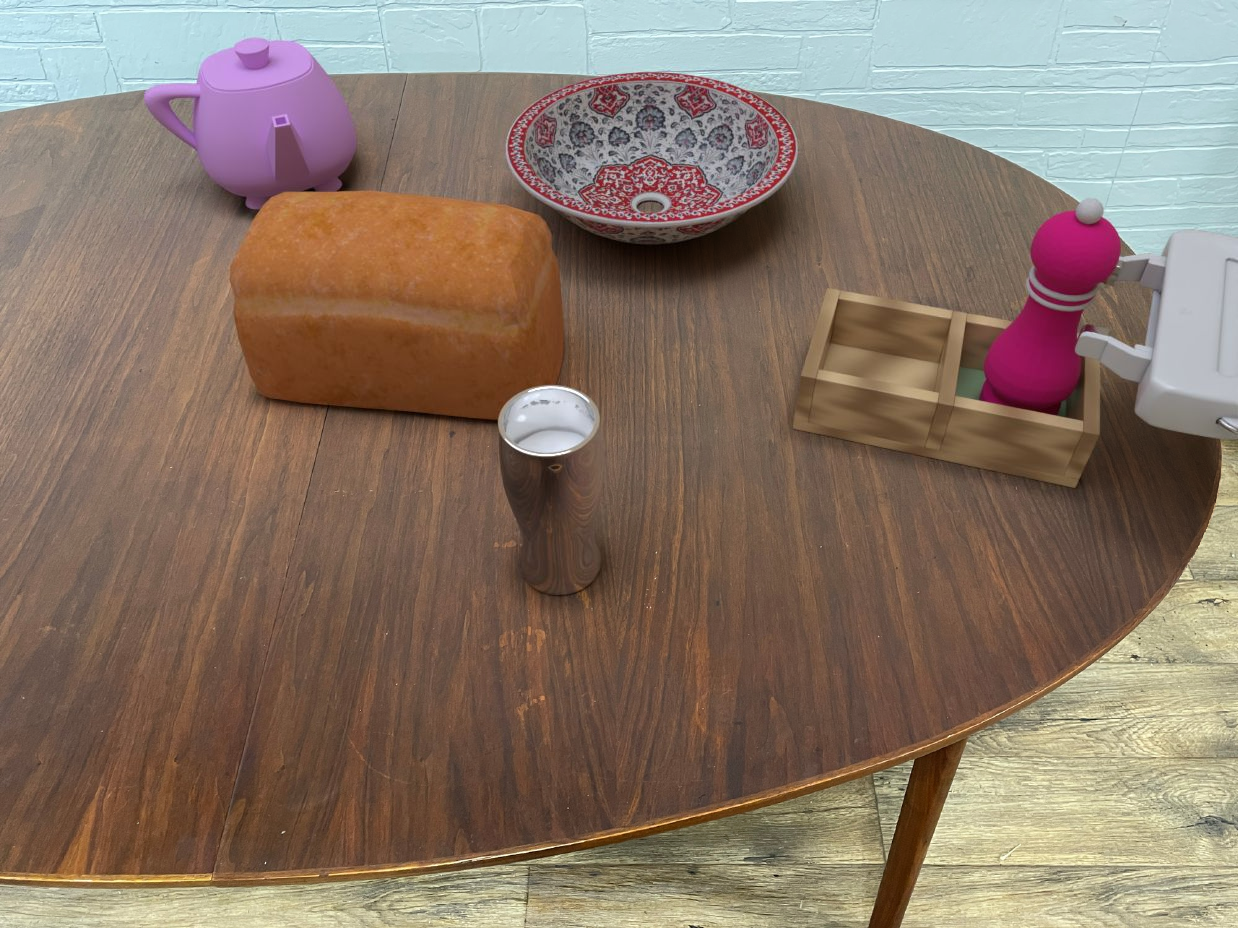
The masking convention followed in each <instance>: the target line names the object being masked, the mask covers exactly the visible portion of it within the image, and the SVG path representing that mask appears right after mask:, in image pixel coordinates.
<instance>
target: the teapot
mask: <svg viewBox="0 0 1238 928" xmlns="http://www.w3.org/2000/svg"><path fill="white" fill-rule="evenodd" d="M187 98H188V99H193V104H192V131H193V132H192V131H191V129H189V127H187V126H186V125H185V124H184V122H182V121H181V119H180V118H179V117H178V115H176V113H175V112H174V110H173V108H171V105H170V101H172V100H176V99H187ZM143 102H144V103H145V106H146V108H147V110H148V111H149V113H150V114H151V116H152V117H153V118H154V119H155V120H156V121H157V122H158V123H159V124H160V125H161V126H162V127H164V128H165V129H166V130H167V131H169V132H170V133H171V134H173V135H174V136H175V137H177V138H178V139H180V140H181V141H182V142H184V143H185V144H186V145H188V146H189V147H191V148H192V149H194V150H195V151H196V153H197V156H198V160H199V162H200V165H201V166H202V168H203V169H204V171H205V172H206V173H207V175H208V176H209V177H210V178H211V180H213V181H214V182H215V183H216V184H218V185H219V186H220V187H221V188H223V189H224V190H226V191H228V192H229V193H231V194H233V195H236V196H239V197H246V199H245V206H246V207H247V208H249V209H251V210H260V209H261V208H262V206H263V205H264V204H265V203H266V202H267V201H268V200H269V199H270V198H271V197H273V196H276V195H278V194H280V193H283V192H304V191H307V190H310V189H313V190H314V191H315V192H338V191H339V190H340V189H341V188H342V186H343V183H342V180H341V179H339V176H341V175H342V174H343V173H344V172H345V171H346V170H347V169H348V167H349V166H350V164H351V162H352V160H353V158H354V156H355V153H356V150H357V147H358V136H357V130H356V127H355V123H354V122H355V121H354V120H353V117H352V114H351V112H350V110H349V107H348V105H347V103H346V101H345V98H344V96H343V95H342V93H341V92H340V89H339V88H338V87H337V85H336V83H335V82H334V80H332V78H331V77H330V75H329V74H328V72H327V71H326V70H325V69H324V68H323V66H322V65H321V64H320V63H319V62H318V60H317V59H316V58H315V56H314V55H312V54H311V52H310V51H309V50H308V49H307V48H306V47H305V46H304V45H302V44H300V43H299V42H296V41H293V40H283V39H282V40H281V39H280V40H267V39H266V38H262V37H249V38H244V39H242V40H239V41H237V42H236V43H235V44H234V45H233V47H229V48H226V49H225V48H224V49H222V50H219V51H218V52H215V53H213V54H210V55H209V56H207V57H206V58H204V60H203V61H202V63H201V64H200V66H199V71H198V75H197V78H196V83H188V82H186V83H185V82H184V83H183V82H177V83H176V82H174V83H163V84H162V83H161V84H156V85H153V86H150V87H149V88H148V89H146V91H145V92H144V95H143Z"/></svg>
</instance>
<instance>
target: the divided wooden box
mask: <svg viewBox="0 0 1238 928" xmlns="http://www.w3.org/2000/svg"><path fill="white" fill-rule="evenodd" d="M1013 321H1014V320H1008V319H1003V318H997V317H991V316H987V315H986V316H985V315H979V314H976V313H975V314H974V313H969V312H964V311H957V310H952V309H946V308H942V307H937V306H936V307H935V306H930V305H924V304H919V303H913V302H908V301H903V300H896V299H891V298H885V297H880V296H874V295H868V294H863V293H857V292H853V291H847V290H841V289H836V288H830V287H827V288H826V290H825V293H824V297H823V300H822V303H821V306H820V310H819V313H818V318H817V320H816V323H815V327H814V330H813V334H812V337H811V340H810V343H809V346H808V350H807V354H806V356H805V360H804V364H803V367H802V369H801V373H800V379H799V385H798V391H797V396H796V397H797V398H796V403H795V411H794V416H793V424H792V429H793V430H798V431H802V432H806V433H811V434H816V435H821V436H826V437H830V438H834V439H838V440H839V439H840V440H845V441H850V442H855V443H859V444H863V445H867V446H874V447H877V448H883V449H887V450H893V451H897V452H902V453H907V454H911V455H916V456H921V457H926V458H931V459H934V460H940V461H945V462H948V463H949V462H950V463H955V464H959V465H963V466H968V467H973V468H979V469H982V470H987V471H991V472H992V471H993V472H997V473H1002V474H1005V475H1006V474H1007V475H1011V476H1016V477H1021V478H1026V479H1031V480H1036V481H1040V482H1044V483H1048V484H1049V483H1050V484H1055V485H1059V486H1062V487H1063V486H1064V487H1069V488H1072V489H1076V487H1077V486H1078V483H1079V482H1080V479H1081V477H1082V474H1083V472H1084V470H1085V468H1086V466H1087V464H1088V461H1089V459H1090V457H1091V456H1092V453H1093V450H1094V448H1095V446H1096V444H1097V442H1098V440H1099V438H1100V435H1101V363H1100V362H1099V360H1095V359H1091V358H1088V357H1084V356H1080V357H1081V369H1080V376H1079V379H1078V383H1077V386H1076V388H1075V390H1074V391H1073V393H1072V394H1071V395H1070V396H1069V397H1068V398H1067V399H1066V400H1064V401H1062V402H1061V407H1060V410H1059V412H1058V415H1057V416H1055V415H1050V414H1045V413H1040V412H1035V411H1030V410H1025V409H1020V408H1015V407H1009V406H1004V405H999V404H994V403H989V402H984V401H979V396H980V393H981V390H982V387H983V384H984V382H985V380H986V377H985V374H984V361H985V358H986V356H987V353H988V351H989V349H990V347H991V345H992V344H993V342H994V341H995V340H996V338H997V337H998V336H999V335H1000V334H1001V333H1002V332H1003V331H1004V330H1005V329H1006V328H1007V327H1008V326H1009V325H1010V324H1011V323H1012V322H1013ZM1079 334H1080V332H1077V339H1078V336H1079Z"/></svg>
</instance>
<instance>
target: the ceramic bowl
mask: <svg viewBox="0 0 1238 928" xmlns="http://www.w3.org/2000/svg"><path fill="white" fill-rule="evenodd" d="M504 147H505V148H504V150H505V151H504V152H505V158H506V163H507V166H508V168H509V171H510V173H511V175H513V177H514V179H515V181H516V182H517V183H518V184H519V185H520V187H522V188H523V189H524V190H525V191H526V192H527V193H529V195H531V196H533V198H535V199H537V200H538V201H539V202H542V203H543V204H545V205H546V206H549V208H550V207H551V208H552V209H553V210H554V211H555V212H556V213H558V214H559V215H560V216H562V217H563V218H564V219H566V220H568V222H570V223H572V224H574V225H576V226H577V227H579V228H581V229H583V230H585V231H587V232H589V233H592V234H594V235H597V236H599V237H602V238H605V239H609V240H614V241H617V242H622V243H628V244H638V245H664V244H665V245H666V244H674V243H679V242H685V241H689V240H693V239H697V238H700V237H703V236H707V235H708V234H711V233H713V232H715V231H718V230H720V229H722V228H723V227H726V226H727V225H729V224H730V223H732V222H734V221H735V220H737V219H738V218H739V217H741V216H742V215H743V214H745V213H746V212H748V210H750V209H751V208H753V207H755V206H757V205H759V204H761V203H762V202H764V201H766V200H767V199H769V198H770V197H771V196H773V195H774V194H775V193H776V192H777V191H779V189H781V188H782V186H784V184H785V183H786V182H787V180H788V179H789V178H790V177H791V175H792V173H793V171H794V170H795V166H796V164H797V161H798V157H799V144H798V138H797V135H796V133H795V130H794V128H793V127H792V125H791V122H790V121H789V120H788V119H787V118H786V116H784V114H783V113H782V112H781V111H780V110H779V109H778V108H777V107H775V106H774V105H772V104H771V103H770V102H768V101H767V100H765V99H764V98H762V97H761V96H759V95H757V94H755V93H753V92H751V91H749V90H747V89H744V88H742V87H740V86H736V85H734V84H731V83H729V82H725V81H722V80H719V79H715V78H710V77H706V76H699V75H694V74H687V73H678V72H662V71H640V72H638V71H637V72H624V73H616V74H609V75H602V76H597V77H593V78H588V79H585V80H581V81H578V82H575V83H571V84H568V85H566V86H563V87H560V88H559V89H556V90H554V91H552V92H550V93H548V94H546V95H544V96H543V97H541V98H539V99H538V100H536V101H534V102H533V103H532V104H530V105H529V106H528V107H526V108H525V110H523V111H522V112H521V113H520V114H519V116H517V118H516V119H515V121H514V122H513V123H512V125H511V127H510V128H509V130H508V133H507V136H506V140H505V146H504ZM647 201H653V202H654V201H655V202H657V203H661V204H662V205H663V209H662V210H660V211H658V212H643V211H641V210H639V209H638V208H637V207H638V205H639V204H640V203H643V202H647Z"/></svg>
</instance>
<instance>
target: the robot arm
mask: <svg viewBox="0 0 1238 928" xmlns="http://www.w3.org/2000/svg"><path fill="white" fill-rule="evenodd" d="M1117 282H1138V286H1139V287H1142V288H1147V289H1151V290H1152V295H1151V300H1150V301H1151V302H1150V308H1149V314H1148V320H1147V327H1146V334H1145V340H1144V345H1143V344H1138V343H1136V344H1134V346H1130V345H1128V344H1126V343H1125V342H1122V341H1120V340H1118V339H1117V338H1115V337H1113V336H1110V331H1111V330H1110V328H1107V327H1103V326H1096V325H1095V324H1092V323H1087V324H1086V323H1085V324H1084V325H1082V327H1081V328H1080V331H1079V333H1080V334H1079V336H1078V339H1077V343H1076V346H1075V352H1076V354H1078V355H1080V356H1084V357H1088V358H1091V359H1095V360H1099V362H1100V364H1102V365H1103V366H1104V367H1106V368H1107V369H1108V370H1110V371H1111V372H1113V374H1115V375H1117V376H1118V377H1120V378H1121V379H1124V380H1127V381H1131V382H1135V383H1138V384H1137V391H1136V397H1135V403H1134V413H1135V415H1136V416H1138V418H1140V419H1141V420H1142V421H1143V422H1145V423H1146V424H1148V425H1150V426H1152V427H1156V428H1158V429H1163V430H1168V431H1171V432H1172V431H1173V432H1178V433H1183V434H1188V435H1193V436H1199V437H1205V438H1210V439H1219V440H1228V441H1229V440H1230V441H1231V440H1232V441H1233V440H1234V441H1235V440H1238V237H1237V236H1233V235H1227V234H1222V233H1218V232H1211V231H1206V230H1201V229H1200V230H1199V229H1184V230H1179V231H1178V230H1177V231H1175V232H1172V233H1171V234H1170V236H1169V237H1168V239H1167V241H1166V243H1165V245H1164V247H1163V249H1162V252H1161V254H1160V255H1159V254H1155V253H1149V252H1148V253H1141V254H1132V255H1124V256H1121V255H1120V257H1119V261H1118V264H1117V266H1116V268H1115V270H1114V271H1113V272H1112V274H1111V275H1110V276H1109V277H1108V278H1106V279H1105V280H1104V281H1102V282H1100V284H1101V283H1102V284H1104V285H1105V286H1110V287H1115V284H1116V283H1117Z"/></svg>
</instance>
